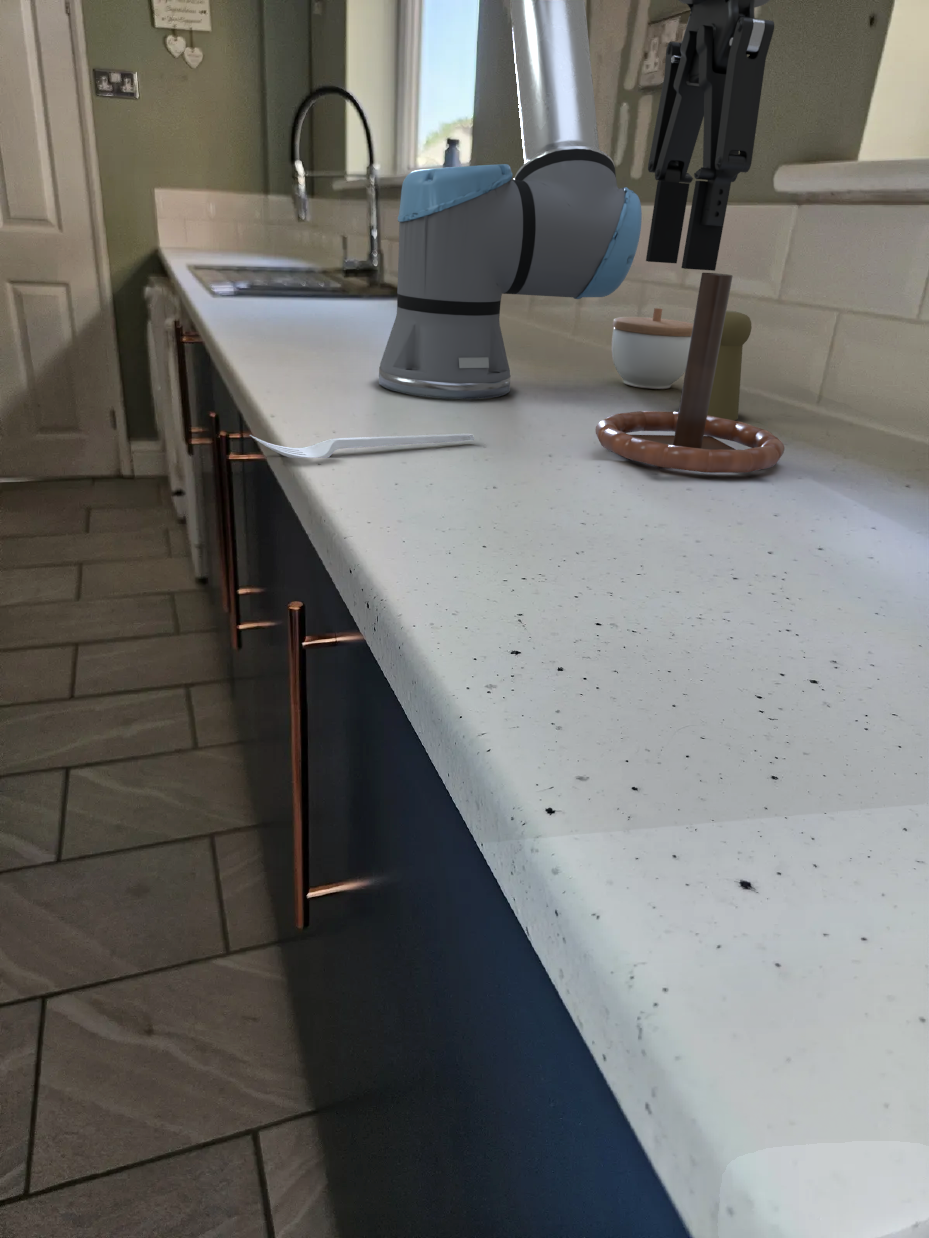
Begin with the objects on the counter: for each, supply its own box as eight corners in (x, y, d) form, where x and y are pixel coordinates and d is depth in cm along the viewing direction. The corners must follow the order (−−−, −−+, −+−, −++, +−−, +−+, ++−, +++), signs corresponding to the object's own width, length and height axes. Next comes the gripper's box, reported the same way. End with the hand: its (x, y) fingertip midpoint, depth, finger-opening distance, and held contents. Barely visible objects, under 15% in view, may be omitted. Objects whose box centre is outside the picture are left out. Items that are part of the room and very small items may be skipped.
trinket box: (596, 375, 117) (605, 301, 113) (673, 379, 118) (684, 306, 115) (617, 390, 107) (628, 310, 104) (701, 394, 109) (714, 315, 105)
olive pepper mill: (740, 423, 94) (761, 316, 89) (683, 417, 95) (701, 311, 90) (735, 412, 99) (755, 311, 95) (682, 407, 100) (699, 306, 96)
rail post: (616, 450, 79) (642, 267, 72) (707, 451, 81) (740, 273, 74) (656, 478, 71) (690, 275, 64) (756, 479, 73) (798, 281, 66)
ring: (570, 427, 80) (572, 408, 80) (727, 429, 84) (731, 410, 83) (634, 475, 67) (637, 452, 66) (819, 475, 70) (824, 453, 69)
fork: (482, 448, 76) (483, 426, 76) (262, 467, 66) (261, 442, 66) (462, 439, 79) (464, 418, 78) (247, 456, 69) (247, 432, 68)
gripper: (636, -39, 73) (599, 255, 83) (752, -108, 56) (688, 273, 66) (717, -27, 75) (671, 259, 85) (854, -91, 58) (777, 279, 68)
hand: (678, 265), depth 76 cm, fingers open, 7 cm apart
